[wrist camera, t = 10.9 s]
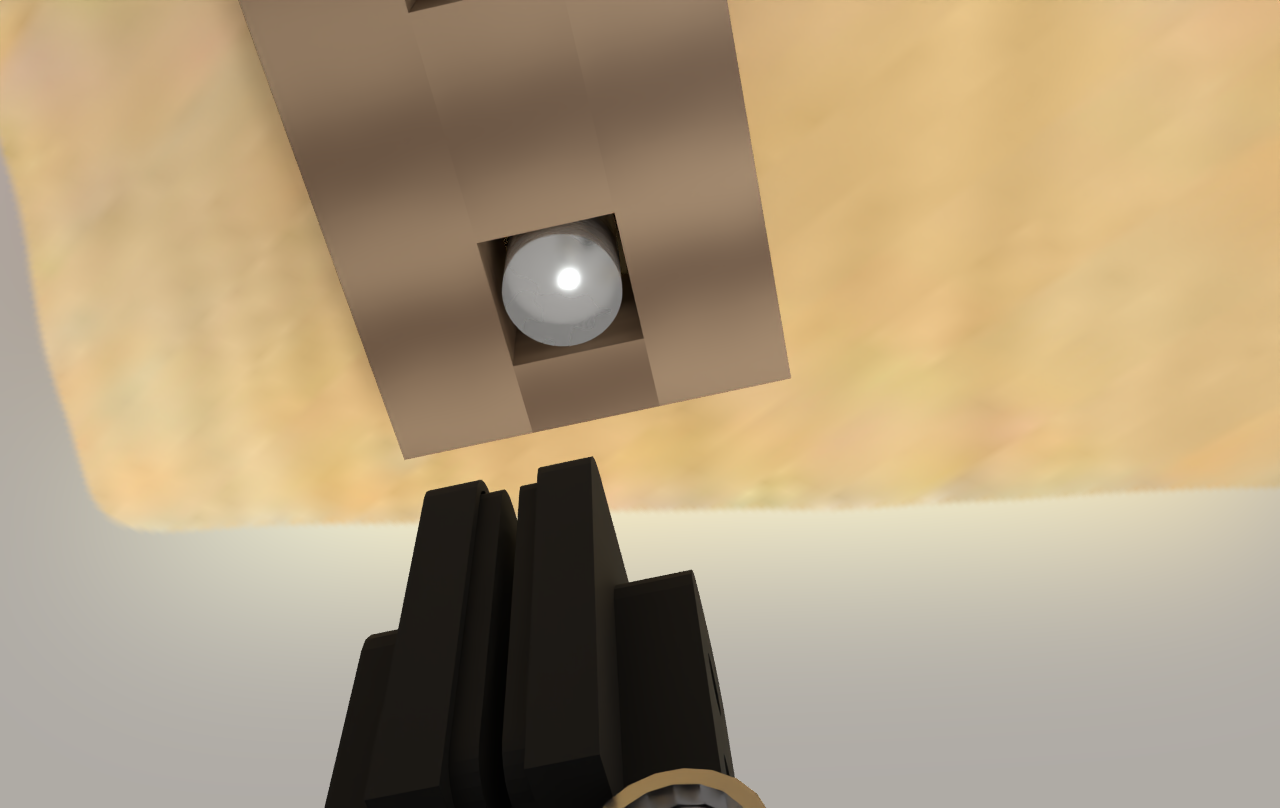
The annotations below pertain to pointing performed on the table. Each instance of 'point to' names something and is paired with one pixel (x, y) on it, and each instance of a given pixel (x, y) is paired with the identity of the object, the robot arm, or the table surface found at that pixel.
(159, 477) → the table surface
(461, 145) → the walnut block
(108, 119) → the table surface
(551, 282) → the peg
